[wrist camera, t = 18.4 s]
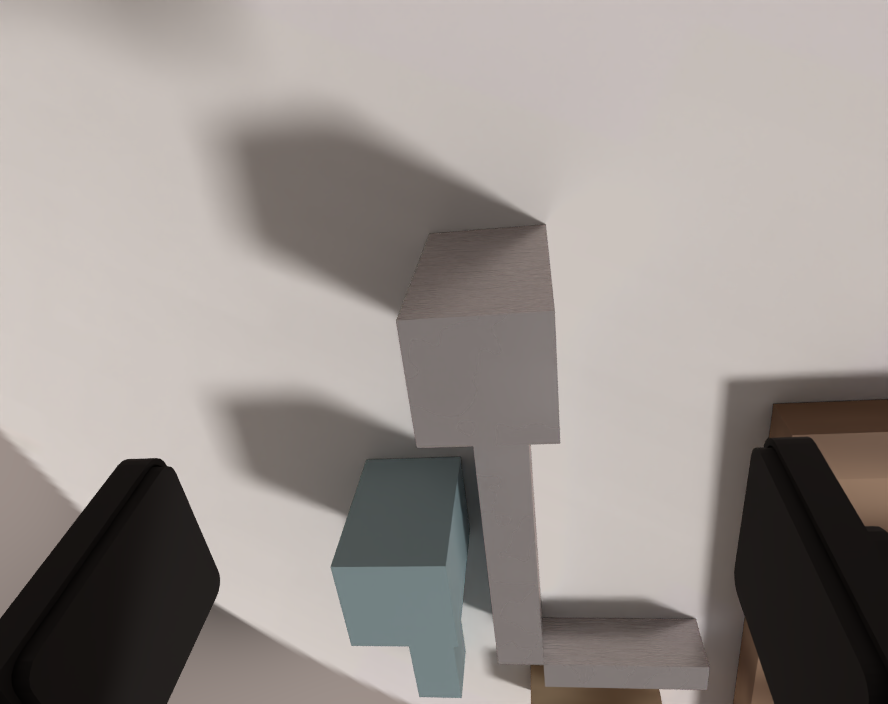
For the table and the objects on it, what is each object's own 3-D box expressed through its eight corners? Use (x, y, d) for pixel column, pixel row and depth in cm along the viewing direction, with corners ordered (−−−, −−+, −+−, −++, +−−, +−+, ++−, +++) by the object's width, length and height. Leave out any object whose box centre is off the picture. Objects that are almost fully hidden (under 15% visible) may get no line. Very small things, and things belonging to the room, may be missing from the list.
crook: (429, 233, 23) (396, 320, 17) (732, 209, 22) (814, 294, 15) (481, 639, 33) (472, 788, 26) (694, 641, 31) (736, 799, 25)
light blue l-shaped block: (366, 459, 28) (330, 566, 23) (460, 456, 27) (445, 566, 22) (406, 650, 34) (385, 772, 28) (485, 651, 33) (478, 776, 28)
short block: (532, 687, 34) (533, 734, 32) (530, 661, 33) (531, 708, 31) (652, 689, 33) (661, 738, 31) (653, 663, 32) (663, 711, 30)
